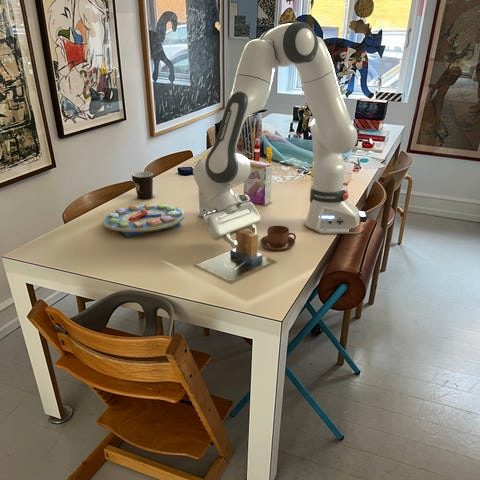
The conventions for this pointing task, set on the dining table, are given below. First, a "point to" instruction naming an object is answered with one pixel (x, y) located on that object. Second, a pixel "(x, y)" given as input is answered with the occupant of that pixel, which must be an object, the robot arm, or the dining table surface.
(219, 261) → the slate board
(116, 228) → the shape sorting clock
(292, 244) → the cup and saucer
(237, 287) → the dining table surface
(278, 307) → the dining table surface
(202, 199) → the ink cartridge box
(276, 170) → the dining table surface
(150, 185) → the coffee mug
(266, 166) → the candy bar box
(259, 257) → the eraser
